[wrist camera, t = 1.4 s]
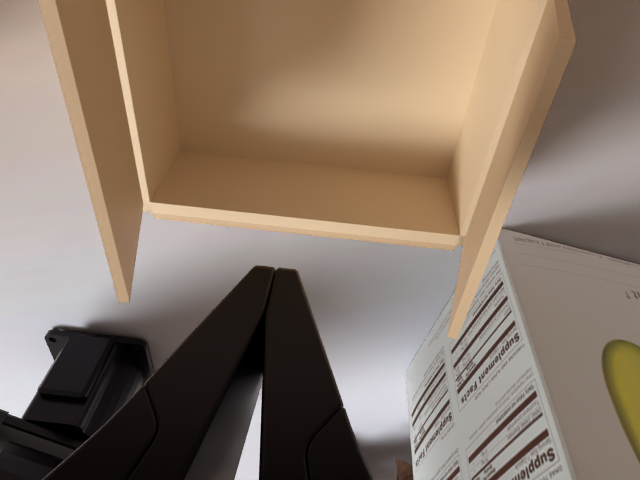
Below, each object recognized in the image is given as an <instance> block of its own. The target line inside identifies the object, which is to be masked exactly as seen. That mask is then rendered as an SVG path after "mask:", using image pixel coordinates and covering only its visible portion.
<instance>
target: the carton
mask: <svg viewBox="0 0 640 480" xmlns="http://www.w3.org/2000/svg"><path fill="white" fill-rule="evenodd" d="M546 3H547V0H106V5H107V10H108V15H109V21H110V26H111V32H112V37H113V43H114V48H115V53H116V59H117V64H118V70H119V75H120V80H121V86H122V91H123V97H124V102H125V107H126V113H127V118H128V124H129V129H130V134H131V140H132V145H133V151H134V156H135V161H136V167H137V172H138V178H139V183H140V188H141V194H142V199H143V212H150V213H153V217H154V218H156V219H165V220H174V221H184V222H193V223H202V224H211V225H221V226H230V227H239V228H248V229H258V230H267V231H276V232H286V233H295V234H304V235H313V236H323V237H332V238H341V239H351V240H360V241H369V242H378V243H388V244H397V245H406V246H415V247H425V248H434V249H443V250H453V251H454V249H455V246H464V240H465V237H466V234H467V231H468V228H469V225H470V222H471V220H472V217H473V214H474V211H475V208H476V205H477V202H478V199H479V197H480V194H481V191H482V188H483V185H484V182H485V179H486V176H487V173H488V171H489V168H490V165H491V162H492V159H493V156H494V153H495V150H496V148H497V145H498V142H499V139H500V136H501V133H502V130H503V127H504V124H505V122H506V119H507V116H508V113H509V110H510V107H511V104H512V101H513V98H514V96H515V93H516V90H517V87H518V84H519V81H520V78H521V75H522V73H523V70H524V67H525V64H526V61H527V58H528V55H529V52H530V49H531V47H532V44H533V41H534V38H535V35H536V32H537V29H538V26H539V24H540V21H541V18H542V15H543V12H544V9H545V6H546Z"/></svg>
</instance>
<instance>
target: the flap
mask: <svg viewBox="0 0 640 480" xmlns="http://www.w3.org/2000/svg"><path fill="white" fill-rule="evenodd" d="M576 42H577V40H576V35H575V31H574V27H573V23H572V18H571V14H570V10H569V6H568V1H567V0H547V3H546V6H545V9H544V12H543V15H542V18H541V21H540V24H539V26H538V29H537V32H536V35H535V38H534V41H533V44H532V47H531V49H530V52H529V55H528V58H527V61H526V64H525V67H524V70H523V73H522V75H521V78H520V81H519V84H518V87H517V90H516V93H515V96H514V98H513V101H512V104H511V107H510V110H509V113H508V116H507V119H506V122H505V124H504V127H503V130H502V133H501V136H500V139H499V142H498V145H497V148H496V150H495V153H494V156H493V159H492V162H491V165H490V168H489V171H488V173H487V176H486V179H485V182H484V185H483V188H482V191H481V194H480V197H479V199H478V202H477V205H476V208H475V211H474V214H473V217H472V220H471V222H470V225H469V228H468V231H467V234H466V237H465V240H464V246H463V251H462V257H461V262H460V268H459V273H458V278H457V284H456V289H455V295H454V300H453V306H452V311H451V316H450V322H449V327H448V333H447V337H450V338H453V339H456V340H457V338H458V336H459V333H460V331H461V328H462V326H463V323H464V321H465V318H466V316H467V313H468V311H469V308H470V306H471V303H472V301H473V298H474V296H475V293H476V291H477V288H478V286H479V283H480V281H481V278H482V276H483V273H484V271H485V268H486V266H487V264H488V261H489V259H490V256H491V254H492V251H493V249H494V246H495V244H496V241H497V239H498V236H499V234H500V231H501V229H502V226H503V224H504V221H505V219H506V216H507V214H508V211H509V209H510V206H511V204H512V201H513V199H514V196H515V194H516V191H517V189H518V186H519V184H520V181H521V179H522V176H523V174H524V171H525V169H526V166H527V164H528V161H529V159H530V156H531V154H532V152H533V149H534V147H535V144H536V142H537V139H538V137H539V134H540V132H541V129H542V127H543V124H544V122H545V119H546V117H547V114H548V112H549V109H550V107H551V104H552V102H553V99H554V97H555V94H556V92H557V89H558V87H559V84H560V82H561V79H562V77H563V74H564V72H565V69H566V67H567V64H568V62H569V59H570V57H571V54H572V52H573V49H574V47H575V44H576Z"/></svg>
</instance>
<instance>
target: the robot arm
mask: <svg viewBox="0 0 640 480" xmlns="http://www.w3.org/2000/svg"><path fill="white" fill-rule="evenodd" d="M45 340H46V343H47V345H48V347H49V349H50V352H51V354H52V356H53V359H54V363H53V364H52V366H51V368H50V369H49V371H48V373H47V374H46V376H45V378H44V379H43V381H42V383H41V384H40V386H39V387H38V391H37V393H36V395H35V396H34V398H33V400H32V401H31V403H30V405H29V406H28V408H27V410H26V411H25V413H24V415H23V416H22V418H18V417H15V416H12V415H10V414H8V413H9V412H7V411H4V410H1V409H0V480H234V478H235V475H236V471H237V468H238V464H239V461H240V457H241V454H242V450H243V447H244V443H245V440H246V436H247V433H248V429H249V426H250V422H251V419H252V415H253V412H254V409H255V405H256V402H257V398H258V395H259V391H260V388H261V384H262V408H261V437H260V465H259V480H373V478H372V476H371V473H370V471H369V469H368V467H367V465H366V462H365V460H364V458H363V456H362V454H361V451H360V448H359V446H358V443H357V441H356V438H355V435H354V433H353V430H352V427H351V425H350V422H349V419H348V416H347V413H346V410H345V408H343V402H342V399H341V396H340V393H339V390H338V387H337V384H336V381H335V378H334V376H333V373H332V370H331V367H330V364H329V361H328V358H327V355H326V352H325V349H324V346H323V343H322V340H321V337H320V335H319V332H318V329H317V326H316V323H315V320H314V317H313V314H312V311H311V308H310V305H309V302H308V299H307V296H306V294H305V291H304V288H303V285H302V282H301V279H300V276H299V273H298V271H297V270H295V269H286V268H278V269H277V270H275V268H274V267H268V266H255V267H253V268H252V269H251V270H250V271H249V273H248V274H247V275H246V276H245V277H244V278H243V279H242V280H241V281H240V282H239V283H238V284H237V285H236V286H235V287H234V288H233V290H232V291H231V292H230V293H229V294H228V295H227V296H226V297H225V298H224V299H223V300H222V301H221V302H220V303H219V304H218V305H217V307H216V308H215V309H214V310H213V311H212V312H211V313H210V314H209V315H208V316H207V317H206V318H205V319H204V320H203V321H202V323H201V324H200V325H199V326H198V327H197V328H196V329H195V330H194V331H193V332H192V333H191V334H190V335H189V336H188V337H187V338H186V340H185V341H184V342H183V343H182V344H181V345H180V346H179V347H178V348H177V349H176V350H175V351H174V352H173V353H172V354H171V355H170V357H169V358H168V359H167V360H166V361H165V362H164V363H163V364H162V365H161V366H160V367H159V368H158V369H157V370H156V371H155V373H154V370H153V366H152V361H151V357H150V353H149V348H148V345H147V343H146V342H145V341H143V340H140V339H133V338H124V337H115V336H105V335H96V334H87V333H78V332H69V331H60V330H49V331H48V333H47V334H46V336H45Z"/></svg>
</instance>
